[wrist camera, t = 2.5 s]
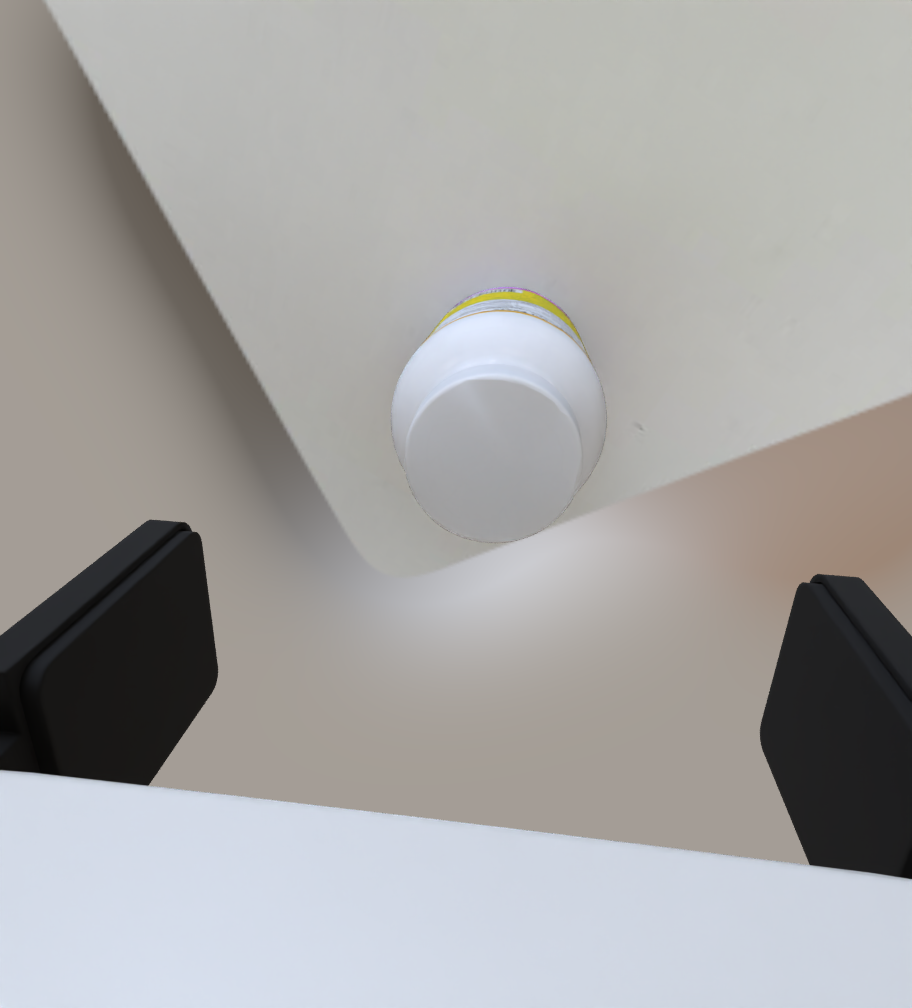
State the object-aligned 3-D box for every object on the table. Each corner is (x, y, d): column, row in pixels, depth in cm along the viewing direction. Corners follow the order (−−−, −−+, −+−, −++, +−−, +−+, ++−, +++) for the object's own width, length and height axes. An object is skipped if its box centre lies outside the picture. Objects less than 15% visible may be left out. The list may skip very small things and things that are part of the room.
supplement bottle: (527, 465, 31) (525, 619, 19) (402, 387, 30) (321, 499, 19) (617, 339, 29) (677, 429, 17) (482, 251, 28) (447, 279, 16)
